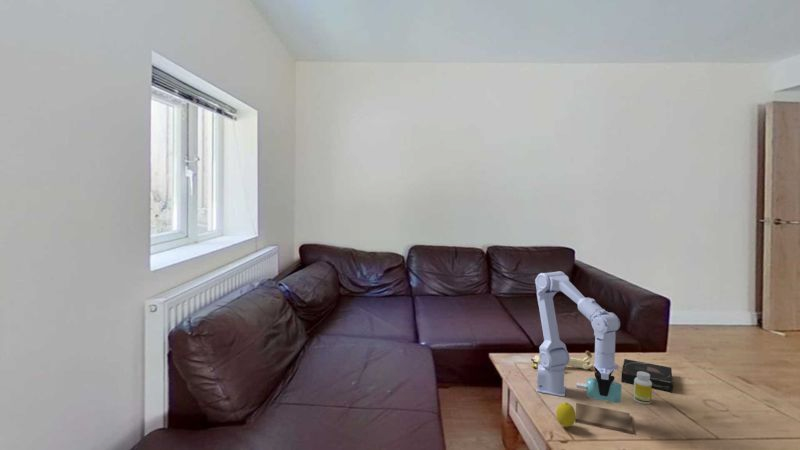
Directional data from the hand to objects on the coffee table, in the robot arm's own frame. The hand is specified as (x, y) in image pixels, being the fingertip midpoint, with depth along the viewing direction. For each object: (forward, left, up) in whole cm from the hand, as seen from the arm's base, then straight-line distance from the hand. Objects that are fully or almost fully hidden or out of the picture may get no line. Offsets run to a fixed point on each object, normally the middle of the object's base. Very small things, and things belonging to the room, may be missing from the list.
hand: (603, 392), depth 131 cm
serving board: (0, 0, -9) cm, 9 cm away
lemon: (-11, -10, -9) cm, 17 cm away
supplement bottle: (+13, +19, -9) cm, 25 cm away
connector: (-1, 0, -2) cm, 2 cm away
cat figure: (-15, +36, -9) cm, 40 cm away
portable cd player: (+17, +39, -10) cm, 44 cm away
